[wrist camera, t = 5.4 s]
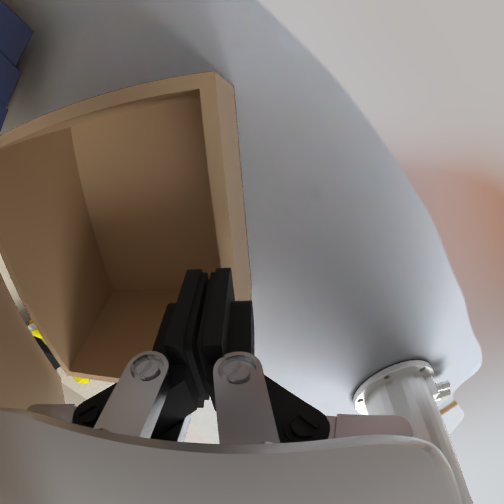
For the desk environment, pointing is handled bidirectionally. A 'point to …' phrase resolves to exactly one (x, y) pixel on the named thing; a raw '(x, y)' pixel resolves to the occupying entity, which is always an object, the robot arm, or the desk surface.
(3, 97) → the folded navy cloth
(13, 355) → the flap
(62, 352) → the carton
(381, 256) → the desk surface
